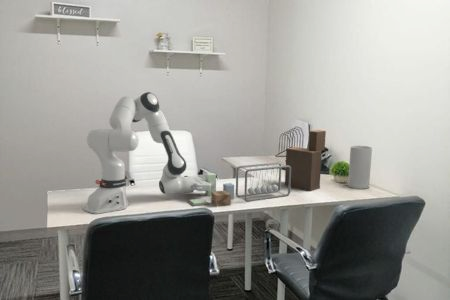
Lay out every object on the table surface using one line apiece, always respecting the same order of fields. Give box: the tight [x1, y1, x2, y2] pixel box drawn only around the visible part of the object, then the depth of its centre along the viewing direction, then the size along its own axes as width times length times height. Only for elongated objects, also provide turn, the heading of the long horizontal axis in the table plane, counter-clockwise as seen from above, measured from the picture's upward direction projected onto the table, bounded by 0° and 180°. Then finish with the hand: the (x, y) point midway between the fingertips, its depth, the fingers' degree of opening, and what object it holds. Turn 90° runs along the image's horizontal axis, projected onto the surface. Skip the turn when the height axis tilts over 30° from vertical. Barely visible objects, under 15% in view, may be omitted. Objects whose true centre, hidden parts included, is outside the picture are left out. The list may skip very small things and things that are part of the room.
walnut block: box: [210, 190, 232, 207], centre depth 219 cm, size 8×8×6 cm
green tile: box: [186, 198, 210, 207], centre depth 219 cm, size 9×9×1 cm
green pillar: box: [204, 172, 217, 197], centre depth 235 cm, size 4×4×12 cm
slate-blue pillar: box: [222, 182, 235, 201], centre depth 228 cm, size 4×4×8 cm
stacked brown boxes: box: [284, 129, 327, 192], centre depth 256 cm, size 19×14×35 cm
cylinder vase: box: [347, 145, 373, 190], centre depth 258 cm, size 12×12×25 cm
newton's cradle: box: [235, 161, 291, 202], centre depth 233 cm, size 30×10×18 cm, turn 118°
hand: (212, 182), depth 235 cm, fingers closed on green pillar, 4 cm apart
